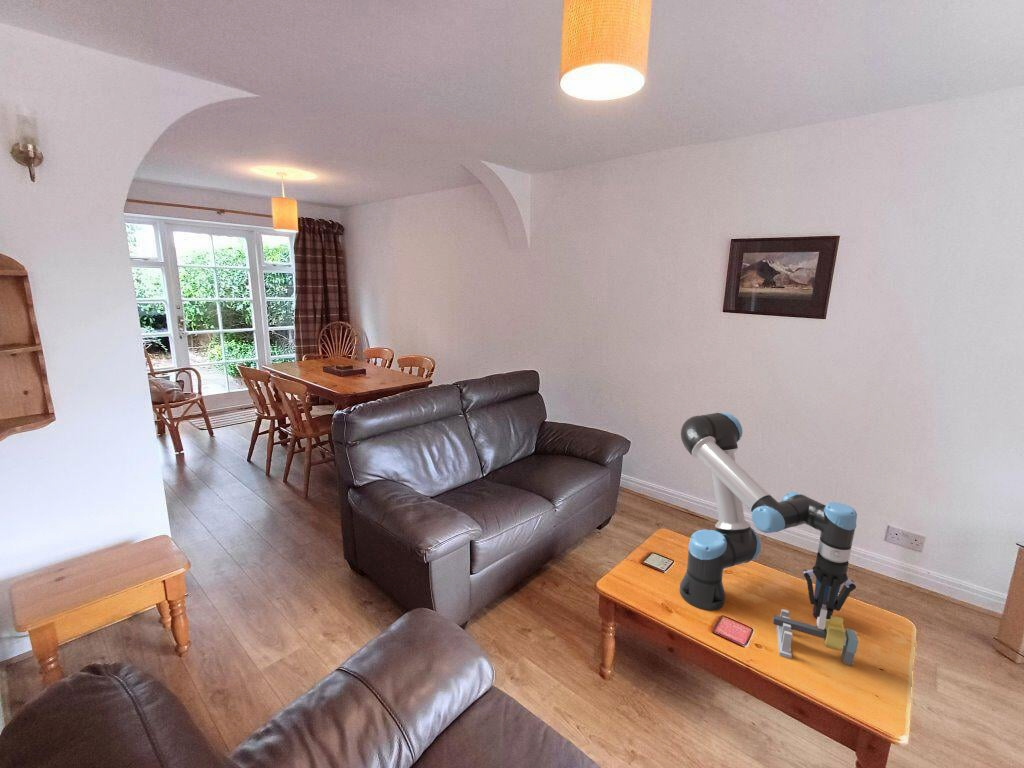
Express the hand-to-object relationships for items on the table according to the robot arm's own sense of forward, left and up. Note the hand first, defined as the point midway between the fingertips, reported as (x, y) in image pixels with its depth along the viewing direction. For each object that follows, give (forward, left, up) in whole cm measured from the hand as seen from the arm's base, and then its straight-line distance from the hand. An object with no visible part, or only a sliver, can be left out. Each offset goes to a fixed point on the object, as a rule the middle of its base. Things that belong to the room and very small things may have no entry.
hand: (820, 625), depth 137 cm
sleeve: (+4, 0, -5) cm, 6 cm away
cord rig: (-1, 0, -9) cm, 9 cm away
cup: (+4, +18, -10) cm, 21 cm away
